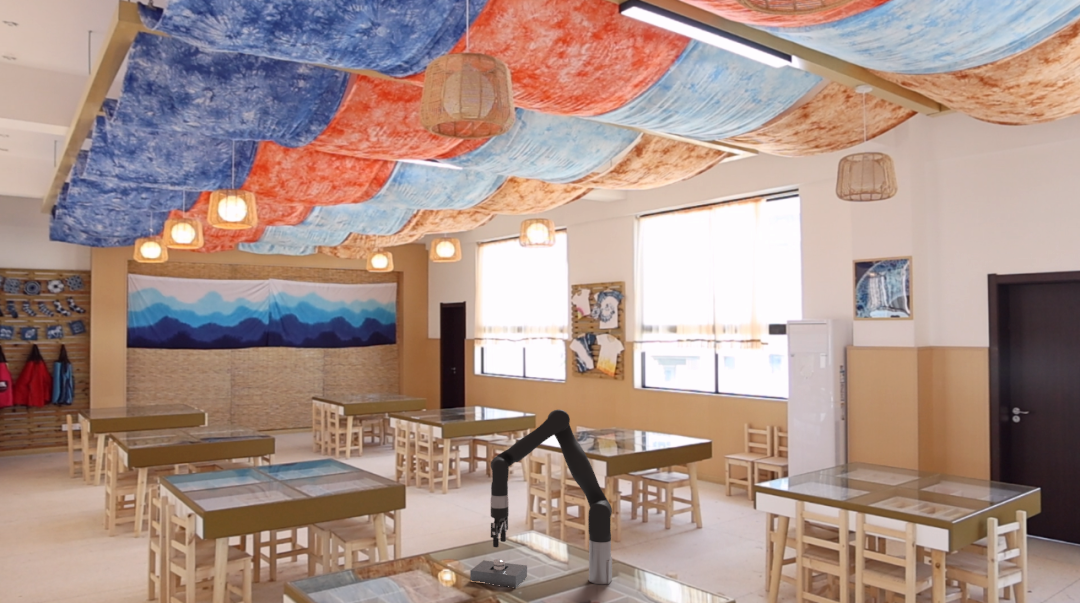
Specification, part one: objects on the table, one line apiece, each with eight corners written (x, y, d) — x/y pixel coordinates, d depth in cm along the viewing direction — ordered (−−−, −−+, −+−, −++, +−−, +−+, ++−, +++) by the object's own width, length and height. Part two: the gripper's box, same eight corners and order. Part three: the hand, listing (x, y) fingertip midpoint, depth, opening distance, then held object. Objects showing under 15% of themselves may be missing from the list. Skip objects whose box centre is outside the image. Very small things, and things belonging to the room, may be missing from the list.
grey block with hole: (526, 577, 317) (527, 565, 317) (515, 588, 304) (515, 575, 304) (483, 571, 323) (483, 560, 323) (470, 582, 310) (470, 570, 310)
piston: (506, 578, 315) (506, 559, 315) (502, 582, 310) (502, 563, 311) (495, 577, 317) (496, 558, 317) (491, 581, 312) (491, 561, 312)
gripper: (501, 510, 306) (501, 550, 306) (513, 502, 320) (513, 540, 319) (484, 508, 308) (484, 548, 308) (497, 500, 322) (497, 538, 321)
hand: (499, 544), depth 314 cm, fingers open, 8 cm apart
